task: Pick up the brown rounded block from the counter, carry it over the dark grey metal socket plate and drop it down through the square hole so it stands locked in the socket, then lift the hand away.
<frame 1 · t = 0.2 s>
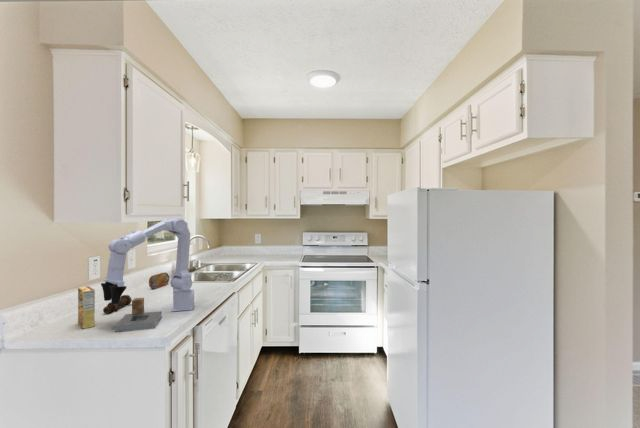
hand: (111, 302, 128), 10 cm above the worktop, tool pointing down, fingers open, 7 cm apart
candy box: (86, 325, 131), on the worktop
socket plate: (139, 323, 132), on the worktop
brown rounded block: (138, 314, 144), on the worktop
dark brown dumbbell shape: (116, 310, 151), on the worktop
brown oval slab: (159, 287, 195), on the worktop
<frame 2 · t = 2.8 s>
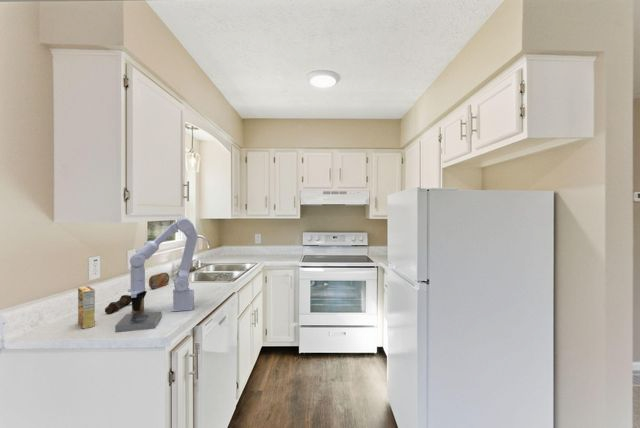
hand: (138, 309, 144), 2 cm above the worktop, tool pointing down, fingers closed on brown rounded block, 4 cm apart
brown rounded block: (138, 314, 144), on the worktop, touching gripper
everything else where it was.
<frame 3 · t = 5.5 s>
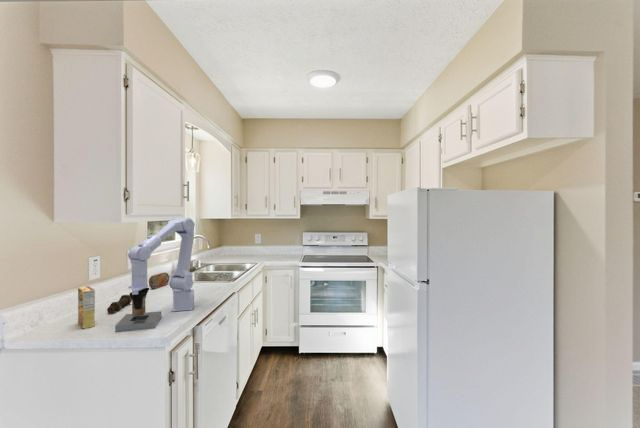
hand: (139, 307, 132), 7 cm above the worktop, tool pointing down, fingers closed on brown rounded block, 4 cm apart
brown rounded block: (138, 314, 132), point 4 cm above the worktop, touching gripper
when the fingers open (4 cm above the worktop, at t = 6.8 s): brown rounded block drops 1 cm, resting in socket plate.
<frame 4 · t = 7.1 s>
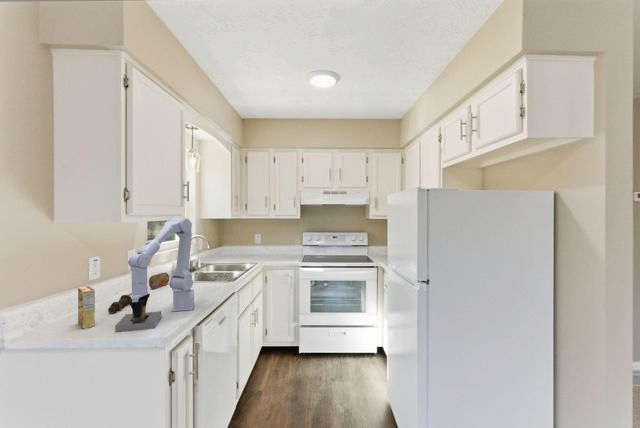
hand: (139, 314, 132), 4 cm above the worktop, tool pointing down, fingers open, 6 cm apart
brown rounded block: (139, 324, 132), resting in socket plate
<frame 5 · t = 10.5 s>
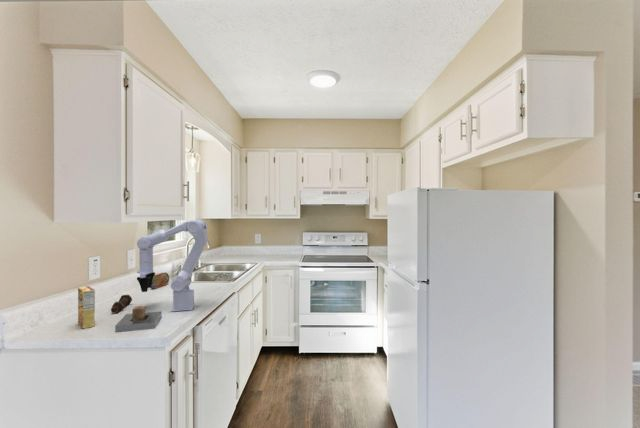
hand: (146, 289, 151), 9 cm above the worktop, tool pointing down, fingers open, 7 cm apart
at the end: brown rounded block 0.3 cm off-centre on the socket plate, point 0.0 cm above the socket plate's base; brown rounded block tilted 0°; the gripper is holding nothing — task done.
